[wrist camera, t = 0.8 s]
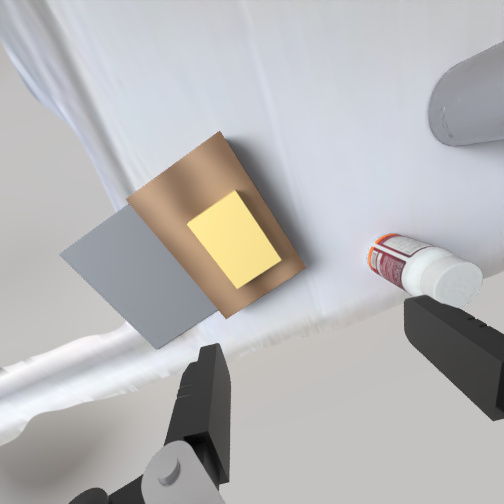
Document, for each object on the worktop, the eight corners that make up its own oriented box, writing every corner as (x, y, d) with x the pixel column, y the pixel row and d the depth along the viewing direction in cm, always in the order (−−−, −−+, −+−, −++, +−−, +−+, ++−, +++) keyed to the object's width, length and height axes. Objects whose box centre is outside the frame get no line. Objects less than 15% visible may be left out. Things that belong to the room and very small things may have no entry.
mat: (136, 198, 28) (135, 199, 28) (223, 305, 34) (223, 306, 33) (60, 253, 29) (58, 254, 29) (157, 348, 35) (156, 349, 34)
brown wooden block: (221, 137, 27) (219, 130, 23) (297, 257, 32) (306, 267, 29) (139, 196, 28) (125, 199, 24) (226, 303, 33) (226, 319, 30)
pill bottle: (384, 280, 35) (454, 324, 24) (356, 258, 33) (417, 296, 23) (413, 247, 34) (500, 278, 23) (385, 223, 32) (464, 245, 22)
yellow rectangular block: (234, 189, 25) (235, 190, 23) (277, 254, 28) (281, 260, 26) (189, 221, 26) (186, 224, 24) (236, 281, 28) (237, 289, 26)
